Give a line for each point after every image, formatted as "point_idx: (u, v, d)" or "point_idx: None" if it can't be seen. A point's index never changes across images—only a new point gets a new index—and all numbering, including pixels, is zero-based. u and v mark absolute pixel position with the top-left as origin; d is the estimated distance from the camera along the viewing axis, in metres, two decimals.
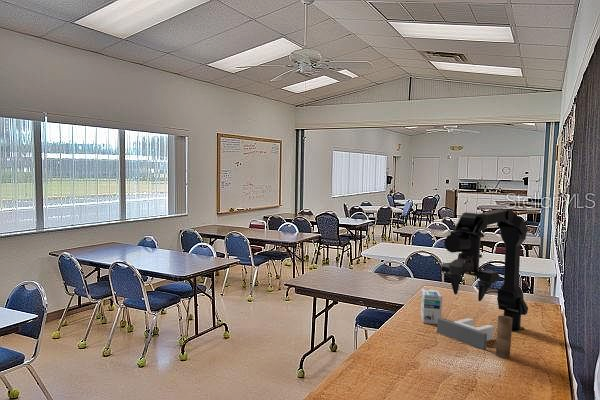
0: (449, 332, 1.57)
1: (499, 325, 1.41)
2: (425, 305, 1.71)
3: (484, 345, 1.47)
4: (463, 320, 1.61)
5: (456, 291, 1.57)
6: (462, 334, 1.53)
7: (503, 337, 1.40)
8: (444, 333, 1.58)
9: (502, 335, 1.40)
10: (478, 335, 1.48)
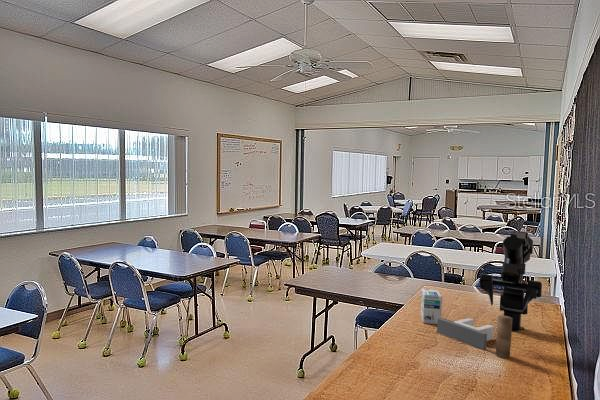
0: (449, 332, 1.57)
1: (499, 325, 1.41)
2: (425, 305, 1.71)
3: (484, 345, 1.47)
4: (463, 320, 1.61)
5: (492, 302, 1.51)
6: (462, 334, 1.53)
7: (503, 337, 1.40)
8: (444, 333, 1.58)
9: (502, 335, 1.40)
10: (478, 335, 1.48)
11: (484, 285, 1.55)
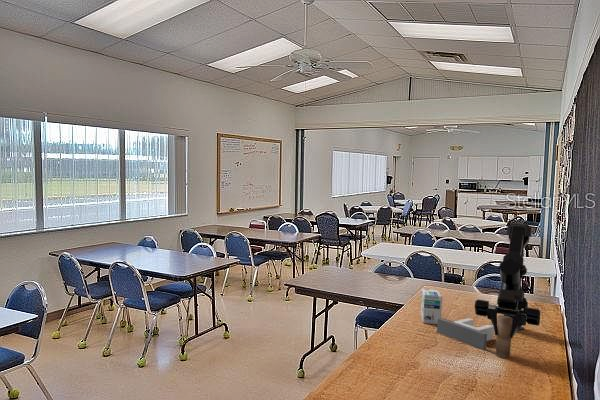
0: (449, 332, 1.57)
1: (499, 325, 1.41)
2: (425, 305, 1.71)
3: (484, 345, 1.47)
4: (463, 320, 1.61)
5: None
6: (462, 334, 1.53)
7: (503, 337, 1.40)
8: (444, 333, 1.58)
9: (502, 335, 1.40)
10: (478, 335, 1.48)
11: (488, 313, 1.46)
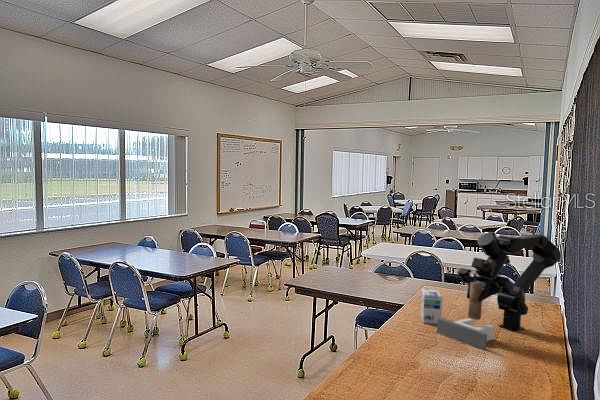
0: (449, 332, 1.57)
1: (470, 289, 1.58)
2: (425, 305, 1.71)
3: (484, 345, 1.47)
4: (463, 320, 1.61)
5: (469, 295, 1.59)
6: (462, 334, 1.53)
7: (471, 300, 1.56)
8: (444, 333, 1.58)
9: (471, 298, 1.57)
10: (478, 335, 1.48)
11: (467, 280, 1.63)
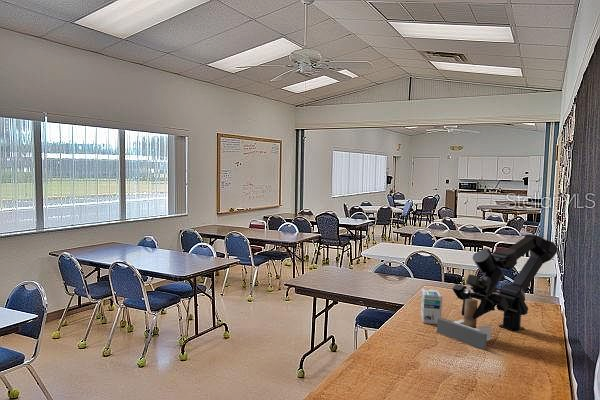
0: (449, 332, 1.57)
1: None
2: (425, 305, 1.71)
3: (484, 345, 1.47)
4: (460, 321, 1.60)
5: None
6: (462, 334, 1.53)
7: (466, 318, 1.55)
8: (444, 333, 1.58)
9: (466, 315, 1.56)
10: (478, 335, 1.48)
11: (462, 296, 1.62)
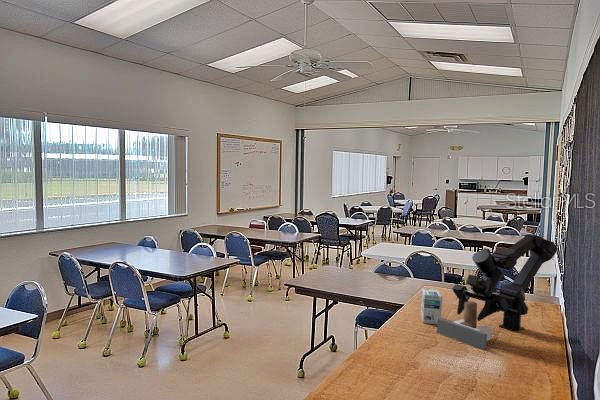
0: (449, 332, 1.57)
1: (464, 309, 1.57)
2: (425, 305, 1.71)
3: (484, 345, 1.47)
4: (460, 321, 1.60)
5: (460, 311, 1.59)
6: (462, 334, 1.53)
7: (466, 321, 1.56)
8: (444, 333, 1.58)
9: (466, 318, 1.56)
10: (478, 335, 1.48)
11: (458, 295, 1.63)
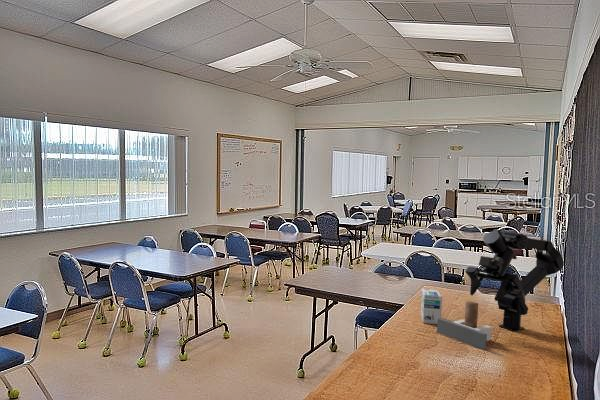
0: (449, 332, 1.57)
1: (465, 309, 1.57)
2: (425, 305, 1.71)
3: (484, 345, 1.47)
4: (460, 321, 1.60)
5: (472, 292, 1.63)
6: (462, 334, 1.53)
7: (467, 320, 1.56)
8: (444, 333, 1.58)
9: (466, 318, 1.56)
10: (478, 335, 1.48)
11: (470, 277, 1.67)
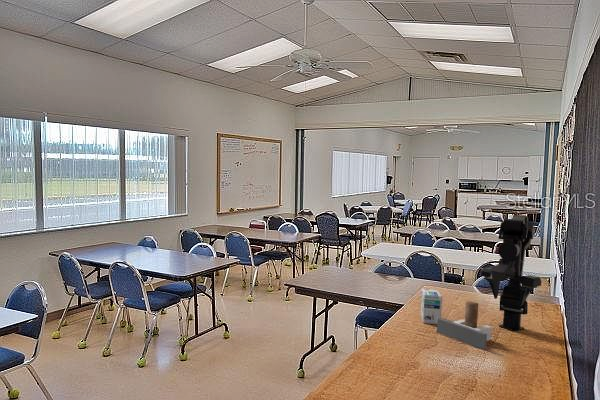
0: (449, 332, 1.57)
1: (465, 309, 1.57)
2: (425, 305, 1.71)
3: (484, 345, 1.47)
4: (460, 321, 1.60)
5: (496, 295, 1.60)
6: (462, 334, 1.53)
7: (467, 320, 1.56)
8: (444, 333, 1.58)
9: (467, 318, 1.56)
10: (478, 335, 1.48)
11: None
